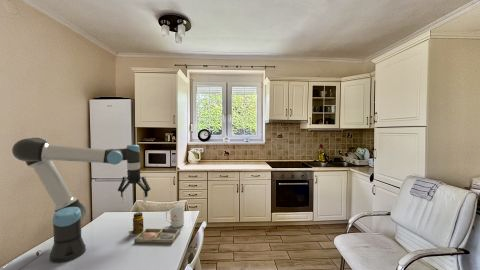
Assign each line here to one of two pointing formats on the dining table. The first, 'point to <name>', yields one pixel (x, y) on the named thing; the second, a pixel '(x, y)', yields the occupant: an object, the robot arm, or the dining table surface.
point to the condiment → (137, 224)
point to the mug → (176, 217)
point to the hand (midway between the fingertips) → (134, 201)
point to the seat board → (157, 236)
